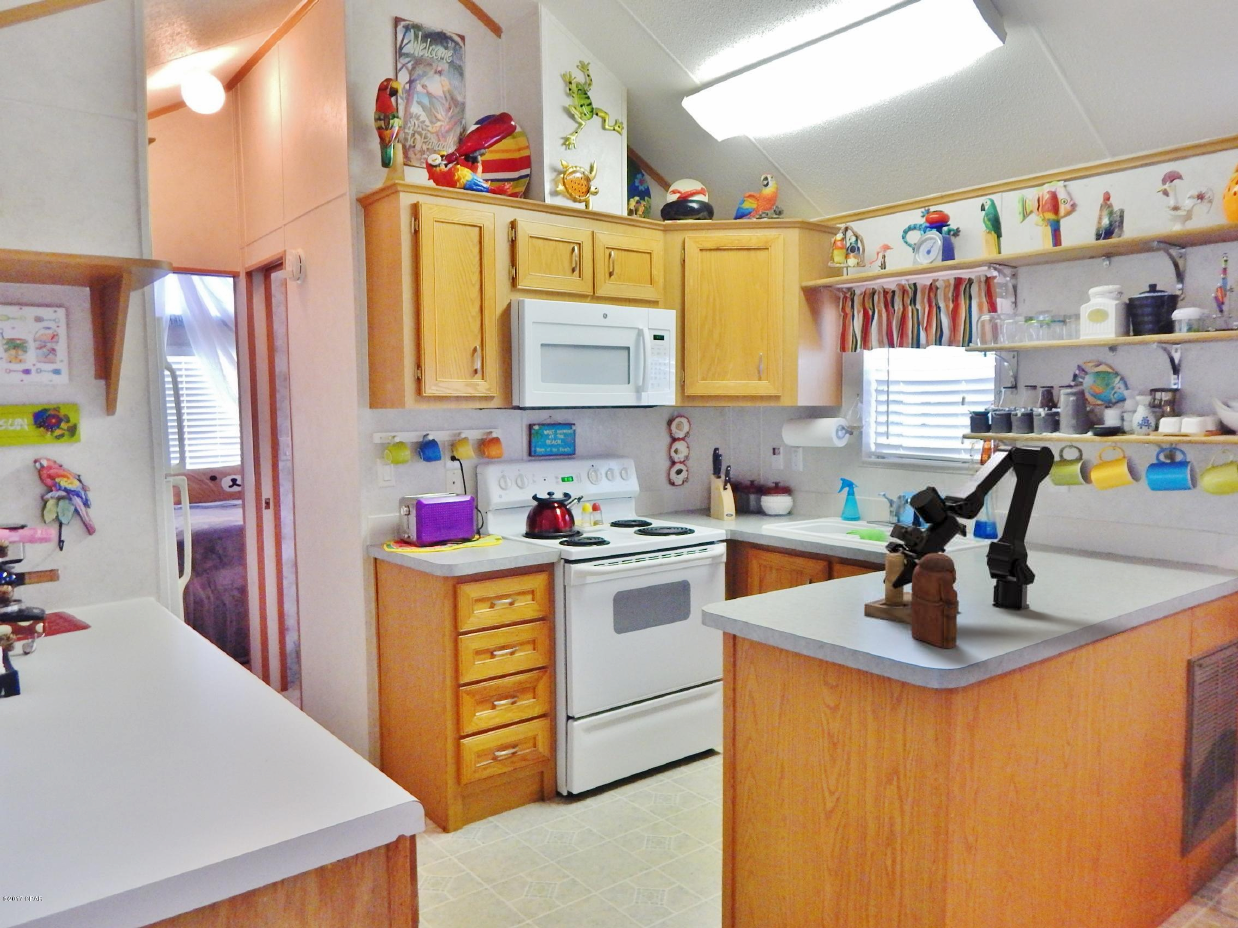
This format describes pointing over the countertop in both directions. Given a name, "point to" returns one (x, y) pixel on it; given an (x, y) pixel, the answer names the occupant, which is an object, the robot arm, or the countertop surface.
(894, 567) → the oak peg
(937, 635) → the wooden figurine
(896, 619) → the walnut board
